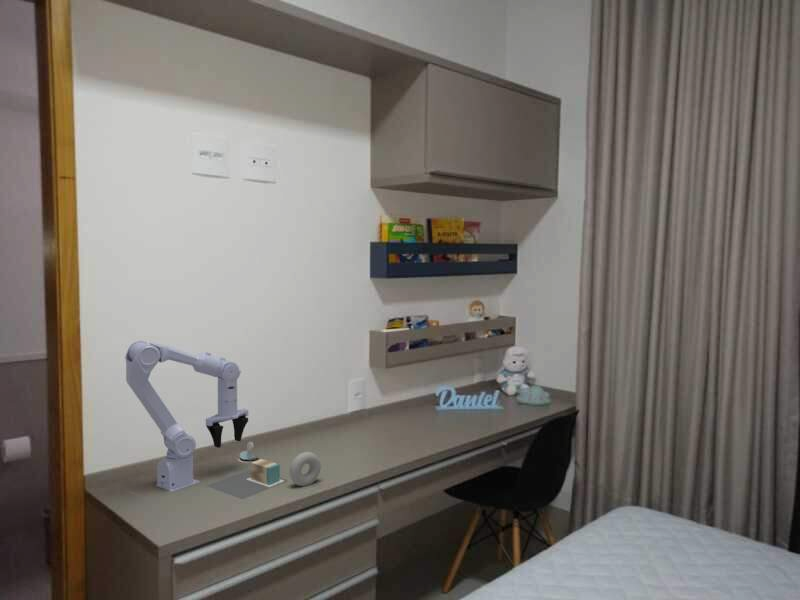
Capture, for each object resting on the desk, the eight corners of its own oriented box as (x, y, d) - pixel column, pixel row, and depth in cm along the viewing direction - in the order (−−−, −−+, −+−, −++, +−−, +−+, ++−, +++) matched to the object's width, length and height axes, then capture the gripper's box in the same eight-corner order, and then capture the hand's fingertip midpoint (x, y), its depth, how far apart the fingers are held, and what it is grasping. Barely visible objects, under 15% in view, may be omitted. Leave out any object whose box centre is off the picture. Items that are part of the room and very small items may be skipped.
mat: (242, 501, 161) (242, 498, 161) (206, 487, 170) (206, 485, 170) (288, 482, 175) (288, 480, 175) (252, 470, 184) (252, 468, 184)
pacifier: (245, 466, 189) (261, 461, 193) (245, 447, 188) (260, 443, 192) (233, 461, 193) (248, 456, 198) (232, 442, 193) (248, 438, 197)
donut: (316, 480, 177) (316, 447, 177) (323, 483, 175) (323, 450, 174) (287, 488, 171) (287, 454, 170) (293, 491, 168) (293, 457, 168)
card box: (250, 479, 176) (250, 462, 175) (261, 475, 179) (261, 458, 178) (269, 485, 171) (269, 468, 171) (279, 481, 174) (279, 464, 174)
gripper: (216, 406, 172) (216, 452, 173) (254, 397, 184) (255, 440, 185) (201, 403, 176) (201, 447, 177) (239, 394, 188) (240, 436, 189)
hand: (227, 443), depth 181 cm, fingers open, 7 cm apart
